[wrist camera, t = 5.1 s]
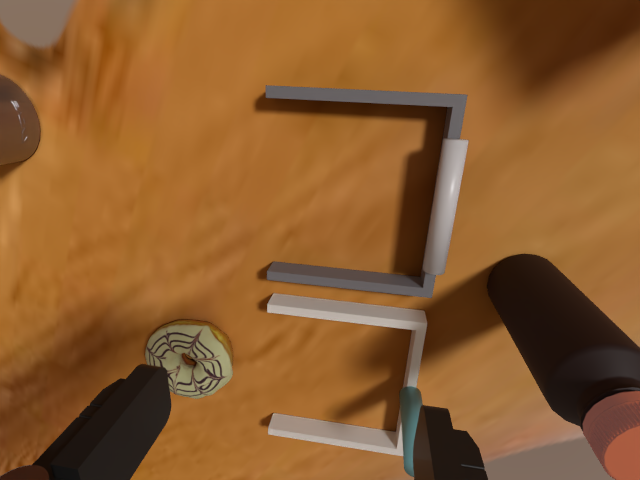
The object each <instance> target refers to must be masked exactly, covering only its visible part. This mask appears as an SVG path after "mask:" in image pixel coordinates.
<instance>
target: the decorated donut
mask: <svg viewBox="0 0 640 480" xmlns="http://www.w3.org/2000/svg"><path fill="white" fill-rule="evenodd" d="M185 353H186V354H188V355H189V356H191V357H192V358H193V359H194V360H195V361H193V360H191V359H188V358H187V357H186V355H185ZM145 358H146V361H147V365H153V366H160V367H165V368H166V370H167V374H168V382H169V390H170V391H171V392H173V393H174V394H177V395H181V396H184V397H190V398H195V399H198V398H202V397H204V396H208V395H212V394H214V393H215V392H216V391H217V390H218V389H220V388H222V387H223V386H224V385H226V384H227V383H228V382H229V381H230V379H231V377H232V375H233V370H232V364H233V350H232V346H231V342H230V340H229V337H228V336H227V335H226V334H225V333H223V332H222V331H221V330H220V329H218V328H217V327H216V326H214V325H213V324H212V323H209V322H205V321H199V320H176V321H174V322H171V323H168V324H166V325H164V326H162V327H161V328H159V329H158V330H157V331H155V333H154V334H153V335H152V336H151V337H150V339H149V340H148V344H147V346H146V353H145Z"/></svg>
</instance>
